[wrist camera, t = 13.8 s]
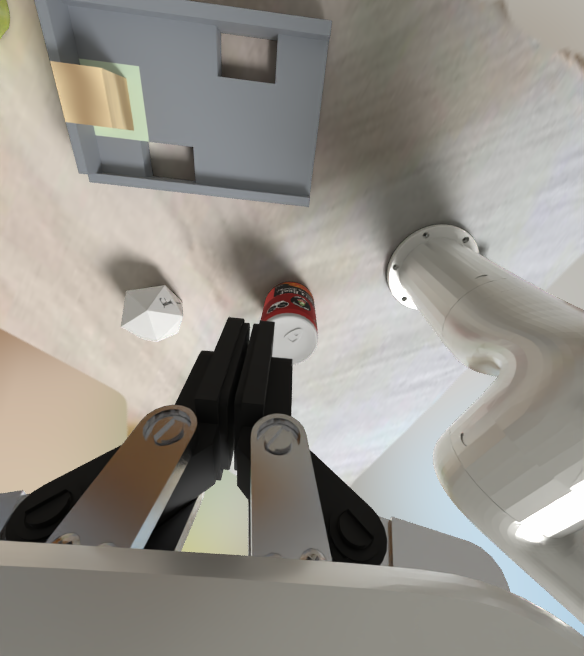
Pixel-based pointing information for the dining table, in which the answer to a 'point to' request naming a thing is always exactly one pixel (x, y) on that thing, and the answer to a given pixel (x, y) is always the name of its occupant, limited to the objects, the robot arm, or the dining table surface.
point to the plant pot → (4, 17)
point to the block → (93, 96)
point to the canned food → (292, 321)
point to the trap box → (196, 94)
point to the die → (152, 313)
